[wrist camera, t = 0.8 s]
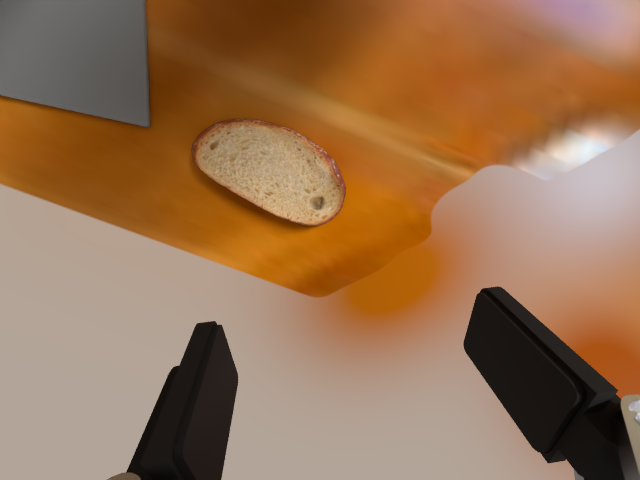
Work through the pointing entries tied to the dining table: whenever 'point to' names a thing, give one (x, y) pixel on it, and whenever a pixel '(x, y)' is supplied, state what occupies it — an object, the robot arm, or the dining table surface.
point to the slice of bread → (272, 169)
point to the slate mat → (77, 56)
